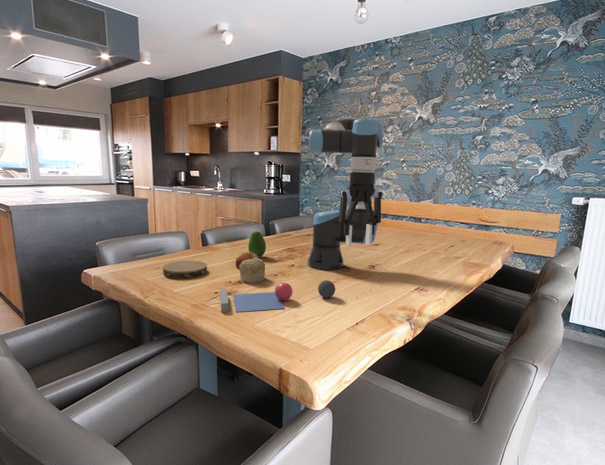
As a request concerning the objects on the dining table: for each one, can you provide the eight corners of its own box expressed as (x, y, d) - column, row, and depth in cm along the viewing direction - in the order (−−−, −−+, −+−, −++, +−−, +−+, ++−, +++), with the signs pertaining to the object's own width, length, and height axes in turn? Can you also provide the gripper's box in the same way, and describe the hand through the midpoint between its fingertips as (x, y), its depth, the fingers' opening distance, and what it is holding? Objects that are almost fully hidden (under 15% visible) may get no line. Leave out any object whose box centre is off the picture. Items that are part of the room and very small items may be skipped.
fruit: (264, 259, 157) (265, 233, 155) (246, 259, 158) (247, 232, 155) (266, 255, 165) (267, 230, 163) (249, 254, 165) (249, 229, 163)
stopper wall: (226, 296, 111) (226, 289, 110) (228, 311, 99) (228, 303, 99) (220, 297, 110) (219, 289, 110) (221, 311, 99) (221, 303, 98)
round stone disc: (194, 265, 146) (194, 258, 145) (214, 274, 135) (214, 266, 134) (156, 272, 135) (155, 264, 134) (174, 282, 124) (174, 274, 123)
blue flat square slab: (276, 292, 116) (276, 292, 116) (284, 308, 102) (284, 308, 102) (232, 295, 112) (232, 294, 112) (236, 312, 99) (236, 311, 99)
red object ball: (290, 296, 113) (290, 279, 112) (294, 302, 107) (294, 285, 107) (273, 297, 111) (273, 280, 110) (276, 303, 106) (276, 286, 105)
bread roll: (260, 273, 149) (262, 255, 151) (255, 269, 139) (257, 250, 141) (237, 272, 150) (239, 254, 152) (231, 268, 140) (233, 248, 142)
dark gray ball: (331, 293, 116) (332, 277, 115) (337, 299, 111) (338, 283, 110) (315, 294, 115) (316, 278, 114) (320, 300, 110) (321, 283, 109)
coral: (253, 284, 123) (253, 263, 122) (234, 279, 128) (234, 259, 127) (270, 278, 130) (270, 258, 129) (251, 273, 136) (251, 254, 134)
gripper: (337, 170, 103) (334, 248, 107) (396, 172, 107) (391, 246, 111) (329, 170, 110) (326, 243, 114) (385, 172, 115) (380, 242, 119)
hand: (358, 244), depth 113 cm, fingers open, 6 cm apart
